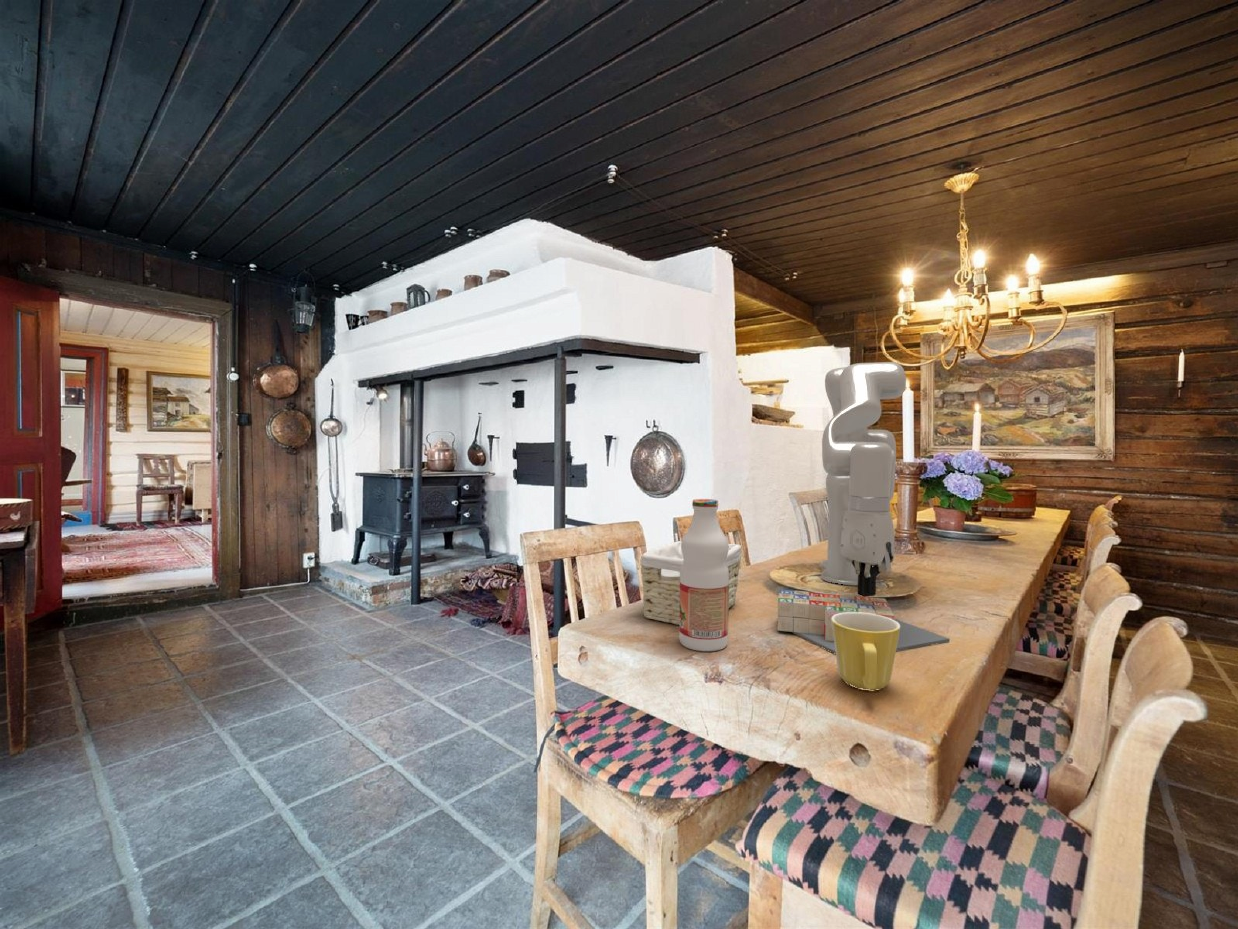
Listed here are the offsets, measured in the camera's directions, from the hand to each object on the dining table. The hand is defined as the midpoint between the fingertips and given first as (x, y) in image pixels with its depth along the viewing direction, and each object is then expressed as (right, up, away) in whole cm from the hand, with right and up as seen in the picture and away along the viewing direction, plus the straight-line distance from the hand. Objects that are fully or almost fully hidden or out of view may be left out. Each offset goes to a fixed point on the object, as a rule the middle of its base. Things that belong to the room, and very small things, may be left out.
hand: (866, 594), depth 113 cm
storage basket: (-33, -8, +15) cm, 37 cm away
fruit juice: (-34, -9, -4) cm, 35 cm away
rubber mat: (0, -8, -1) cm, 8 cm away
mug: (-11, -10, -23) cm, 28 cm away
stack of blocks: (-5, -4, +7) cm, 9 cm away
